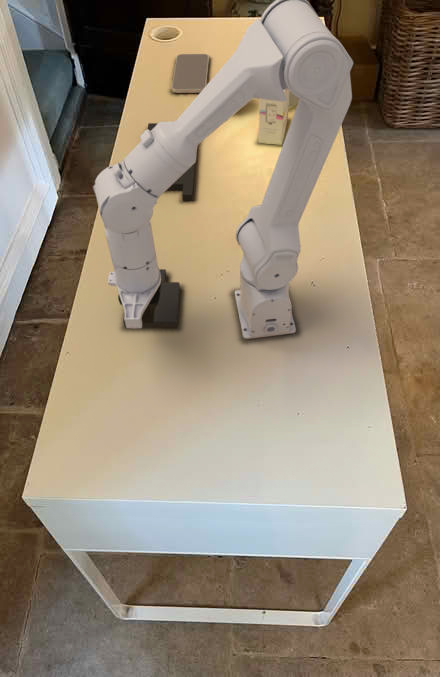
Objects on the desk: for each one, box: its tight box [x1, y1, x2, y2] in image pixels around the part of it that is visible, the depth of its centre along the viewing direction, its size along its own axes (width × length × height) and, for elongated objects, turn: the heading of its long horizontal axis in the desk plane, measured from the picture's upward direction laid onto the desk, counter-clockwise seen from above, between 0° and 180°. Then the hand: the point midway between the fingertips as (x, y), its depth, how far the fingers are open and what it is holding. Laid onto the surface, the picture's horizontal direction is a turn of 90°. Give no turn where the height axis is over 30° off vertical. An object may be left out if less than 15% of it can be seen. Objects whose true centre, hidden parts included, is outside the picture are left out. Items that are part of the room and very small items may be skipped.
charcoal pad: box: [122, 268, 181, 329], centre depth 95 cm, size 11×8×2 cm
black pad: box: [147, 122, 197, 202], centre depth 115 cm, size 22×10×2 cm, turn 179°
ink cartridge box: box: [258, 88, 290, 146], centre depth 115 cm, size 9×5×15 cm, turn 168°
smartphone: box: [171, 53, 210, 94], centre depth 134 cm, size 7×1×15 cm
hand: (146, 319), depth 88 cm, fingers closed
